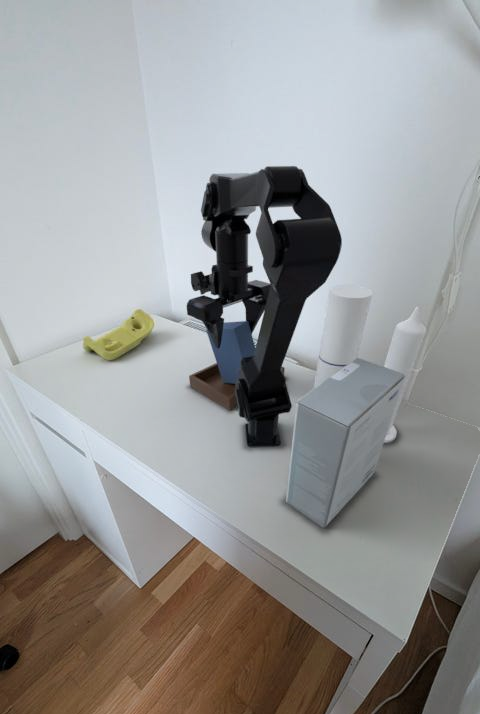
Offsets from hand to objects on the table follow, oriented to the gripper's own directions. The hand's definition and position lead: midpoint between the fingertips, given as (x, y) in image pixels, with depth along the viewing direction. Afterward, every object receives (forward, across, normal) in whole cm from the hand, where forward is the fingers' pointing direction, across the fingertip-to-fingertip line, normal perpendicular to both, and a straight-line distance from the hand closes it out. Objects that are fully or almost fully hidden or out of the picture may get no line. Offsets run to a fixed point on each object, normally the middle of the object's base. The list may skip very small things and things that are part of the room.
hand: (233, 340), depth 71 cm
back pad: (+11, -3, 0) cm, 11 cm away
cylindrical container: (+13, -10, +19) cm, 25 cm away
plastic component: (+13, +6, -40) cm, 43 cm away
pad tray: (+13, -4, -3) cm, 13 cm away
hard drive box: (+13, +9, +32) cm, 36 cm away
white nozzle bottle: (+13, -10, +30) cm, 35 cm away
